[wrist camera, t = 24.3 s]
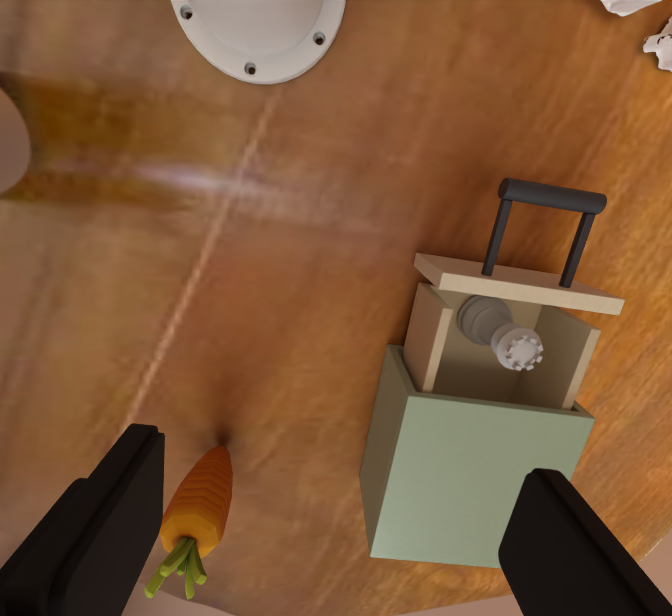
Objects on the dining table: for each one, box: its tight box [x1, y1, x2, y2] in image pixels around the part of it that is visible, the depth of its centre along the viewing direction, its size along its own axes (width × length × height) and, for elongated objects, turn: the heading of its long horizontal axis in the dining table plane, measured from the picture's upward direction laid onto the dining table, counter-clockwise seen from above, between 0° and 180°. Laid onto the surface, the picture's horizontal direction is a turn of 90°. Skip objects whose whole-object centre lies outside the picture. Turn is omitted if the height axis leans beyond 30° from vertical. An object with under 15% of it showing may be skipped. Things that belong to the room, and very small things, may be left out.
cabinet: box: [359, 344, 596, 568], centre depth 36 cm, size 16×15×10 cm
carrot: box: [144, 445, 233, 599], centre depth 33 cm, size 5×5×15 cm
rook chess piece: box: [458, 295, 543, 371], centre depth 31 cm, size 4×4×8 cm
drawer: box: [401, 178, 625, 411], centre depth 32 cm, size 21×13×8 cm, turn 171°
